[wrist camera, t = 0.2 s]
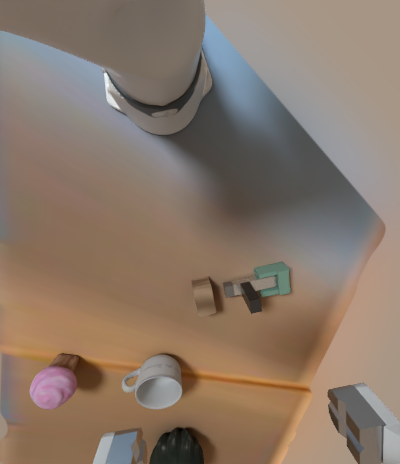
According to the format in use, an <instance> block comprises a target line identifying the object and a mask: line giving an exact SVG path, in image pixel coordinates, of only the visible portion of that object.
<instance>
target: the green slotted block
mask: <svg viewBox="0 0 400 464" xmlns="http://www.w3.org/2000/svg"><path fill="white" fill-rule="evenodd" d="M289 272H290V270H289V267H288V266H286V265H285V264H284V263H283V262H279V263H275V264H270V265H266V266H261V267H256V268H254V273H255V276H258V277H259V279H261V278H265V277H270V276H274V275H277V278H278V286H276V287H271V288H267V289H263V290H258V293H259V294H260V296H261V297H267V296H271V295H276V294H280V295H283V294H288V293H290V291H291V287H290V284H289Z"/></svg>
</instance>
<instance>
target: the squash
mask: <svg viewBox="0 0 400 464" xmlns="http://www.w3.org/2000/svg"><path fill="white" fill-rule="evenodd" d="M149 464H204V458H203V451H202V448H201V446H200V445H199V444H198V441H197V439H196V438H195V437H193V436H191V434H190V432H189V431H188V430H187V429H183V430H182V431H181V432H180V431H179V430H178V429H174V430H173V431H172V432H171V433H170V434H168V433H165V434H163V435H162V436H161V437H160V438H159V440H158V443H157V445H156V446H155V448H154V449H153V452H152V454H151V457H150V463H149Z"/></svg>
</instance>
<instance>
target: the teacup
mask: <svg viewBox="0 0 400 464" xmlns="http://www.w3.org/2000/svg"><path fill="white" fill-rule="evenodd" d="M134 376H138V380H136V382H135V384H134V385H132V386H128V385H127V384H126V382H127V381H128V380H129V379H130V378H132V377H134ZM122 388H123V390H124V391H125V392H128V393H129V392H133V391H135V397H136V400H137V402H138V403H139V404H141V405H142V406H144V407H146V408H150V409H163V408H167V407H170V406H172V405H173V404H175V403H176V402H177V401H178V400H179V399H180V397H181V395H182V378H181V369H180V365H179V363H178V362H177V361H176V360H175V359H174V358H172V357H171V356H168V355H164V354H159V355H155V356H153V357H151V358H149V359H147V360H146V361H145V362H144V363H143V365H142V367H140V368H138V369H137V370H135V371H133V372H130V373H129V374H127V375H126V376H125V377H124V379H123V381H122Z"/></svg>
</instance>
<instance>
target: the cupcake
mask: <svg viewBox="0 0 400 464" xmlns="http://www.w3.org/2000/svg"><path fill="white" fill-rule="evenodd" d="M78 363H79V358H78V356H76V355H67V354H59V355H58V356H57V357H56V358H55V359H54V361H53V362H52V363H51V365H50V366H49V367H47V368H45V369H43V370H42V371H40V372H39V373H38V374H37V375H36V377H35V378H34V380H33V382H32V384H31V387H30V396H31V398H32V400H33V401H34V402H35V403H36V404H37V405H38V406H39V407H41V408H44V409H55V408H57V407H59V406H60V405H62V404H63V403H65V402H66V401H67V400H68V399H69V398H70V397H71V396H72V395H73V394H74V392H75V390H76V388H77V379H76V377H75V374H76V370H77V366H78Z"/></svg>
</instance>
